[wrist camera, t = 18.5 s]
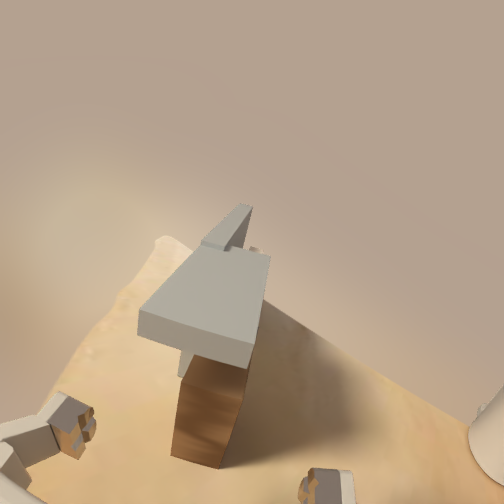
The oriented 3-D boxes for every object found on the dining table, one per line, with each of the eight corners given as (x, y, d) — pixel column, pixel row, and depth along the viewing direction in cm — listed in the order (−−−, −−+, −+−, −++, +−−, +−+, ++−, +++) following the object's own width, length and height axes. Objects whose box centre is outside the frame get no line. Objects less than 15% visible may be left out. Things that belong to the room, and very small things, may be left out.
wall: (253, 302, 52) (278, 213, 47) (207, 485, 19) (256, 337, 15) (219, 292, 52) (240, 203, 47) (135, 461, 19) (139, 302, 15)
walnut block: (231, 413, 28) (254, 341, 25) (218, 469, 21) (242, 400, 18) (191, 402, 28) (206, 328, 25) (170, 455, 21) (181, 382, 18)
